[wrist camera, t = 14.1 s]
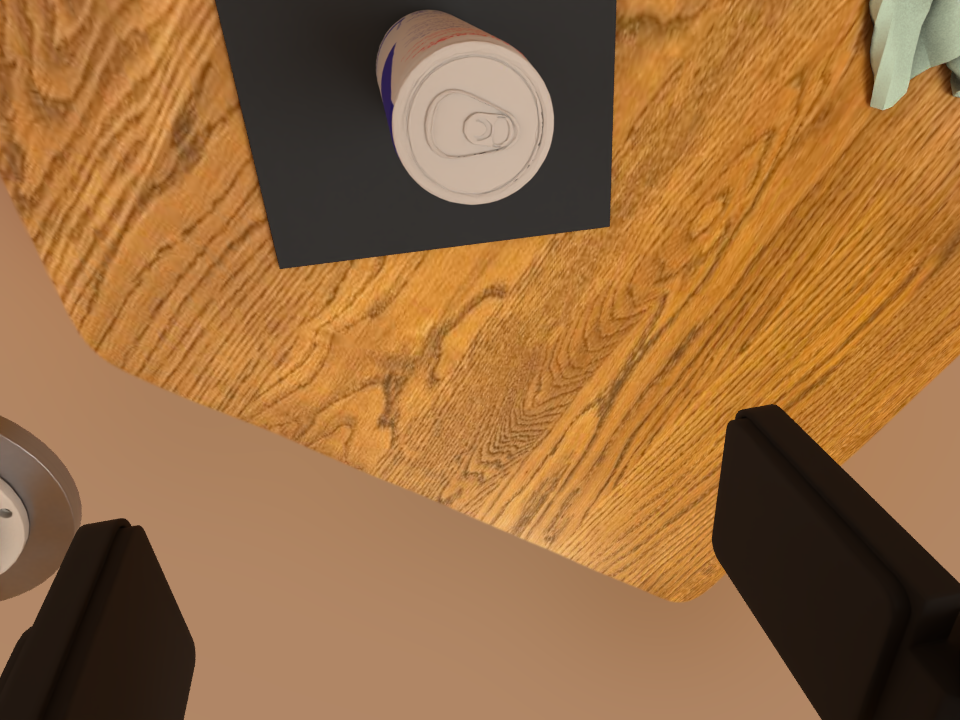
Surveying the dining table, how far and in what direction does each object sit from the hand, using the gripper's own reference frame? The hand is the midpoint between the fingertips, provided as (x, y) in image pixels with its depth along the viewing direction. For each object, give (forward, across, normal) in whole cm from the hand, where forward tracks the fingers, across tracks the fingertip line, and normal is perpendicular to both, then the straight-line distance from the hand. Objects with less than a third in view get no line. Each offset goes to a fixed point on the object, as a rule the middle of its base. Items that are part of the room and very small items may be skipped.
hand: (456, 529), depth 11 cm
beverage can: (+30, -4, -3) cm, 31 cm away
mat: (+31, -4, -3) cm, 31 cm away
